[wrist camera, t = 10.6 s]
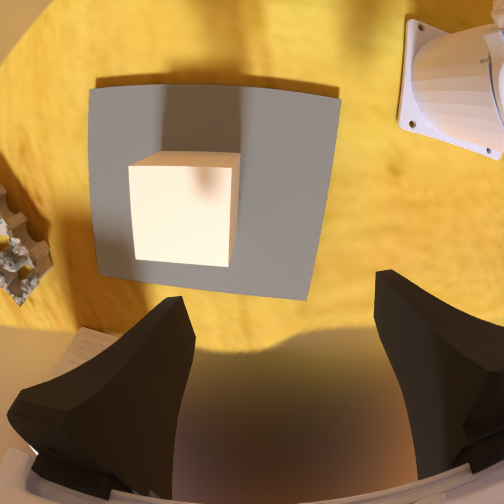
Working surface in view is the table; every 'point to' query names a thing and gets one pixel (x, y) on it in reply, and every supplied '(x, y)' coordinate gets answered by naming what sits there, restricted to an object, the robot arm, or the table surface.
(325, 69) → the table surface
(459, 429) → the robot arm
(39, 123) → the table surface
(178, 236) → the cube
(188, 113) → the mat
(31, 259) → the egg carton
